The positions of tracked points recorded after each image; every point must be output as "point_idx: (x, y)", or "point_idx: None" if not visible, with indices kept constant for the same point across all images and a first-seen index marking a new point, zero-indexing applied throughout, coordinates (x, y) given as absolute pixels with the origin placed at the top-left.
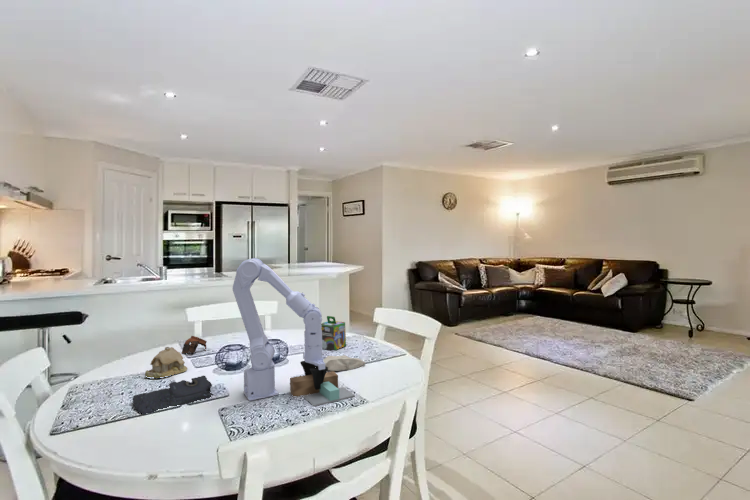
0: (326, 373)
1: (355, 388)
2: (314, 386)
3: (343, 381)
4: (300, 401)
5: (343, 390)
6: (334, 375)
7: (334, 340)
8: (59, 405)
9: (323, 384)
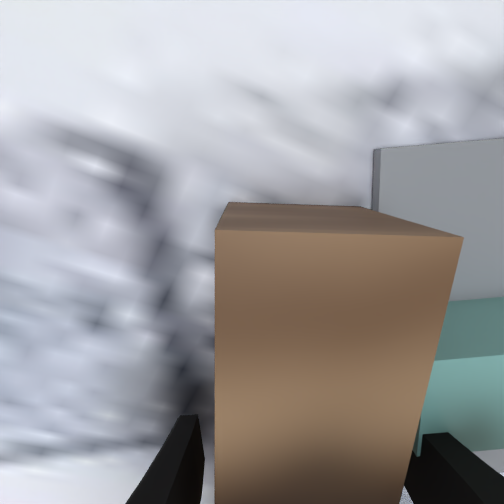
0: (275, 373)
1: (447, 17)
2: (405, 479)
3: (181, 60)
4: (406, 497)
5: (463, 185)
6: (439, 294)
7: None
8: None
9: (479, 434)
